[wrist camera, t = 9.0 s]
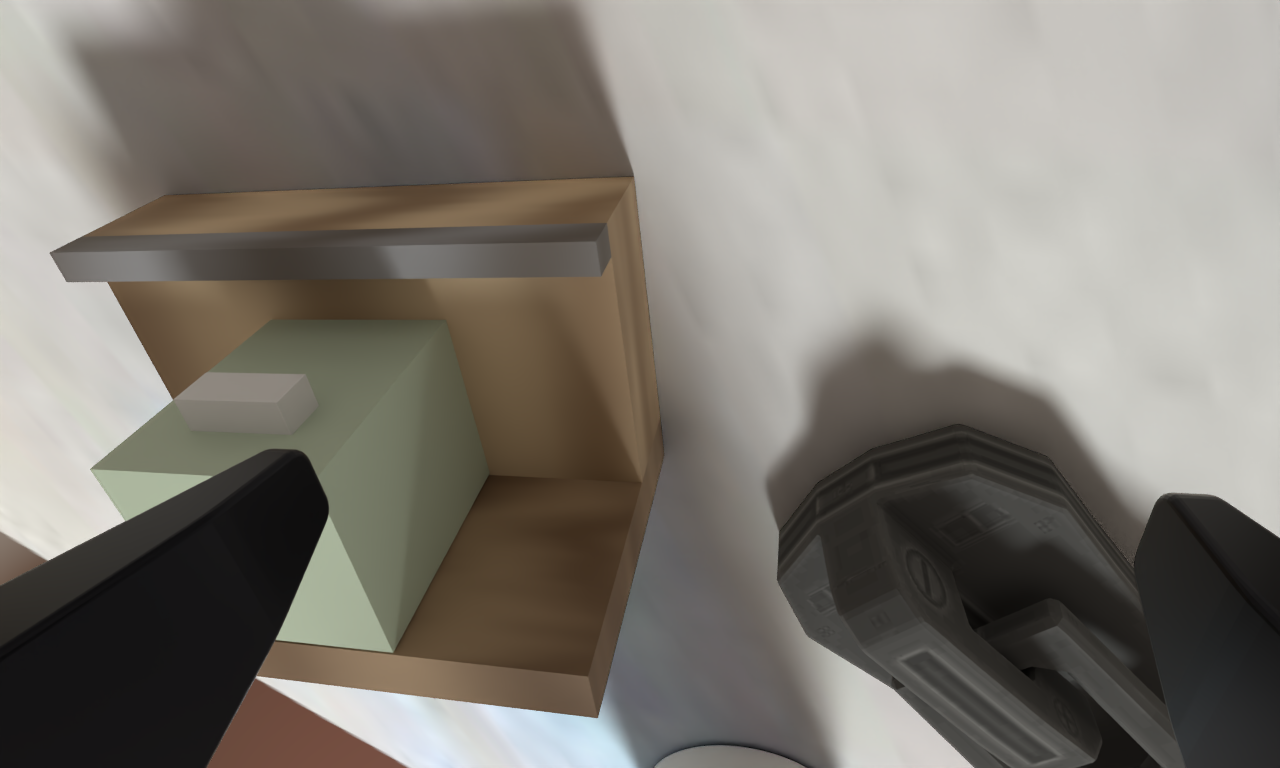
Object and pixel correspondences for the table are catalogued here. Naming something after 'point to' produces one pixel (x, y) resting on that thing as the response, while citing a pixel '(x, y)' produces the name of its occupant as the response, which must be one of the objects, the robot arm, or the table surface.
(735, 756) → the fruit juice
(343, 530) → the cabinet block
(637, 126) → the table surface
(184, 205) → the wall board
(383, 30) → the table surface
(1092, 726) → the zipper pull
